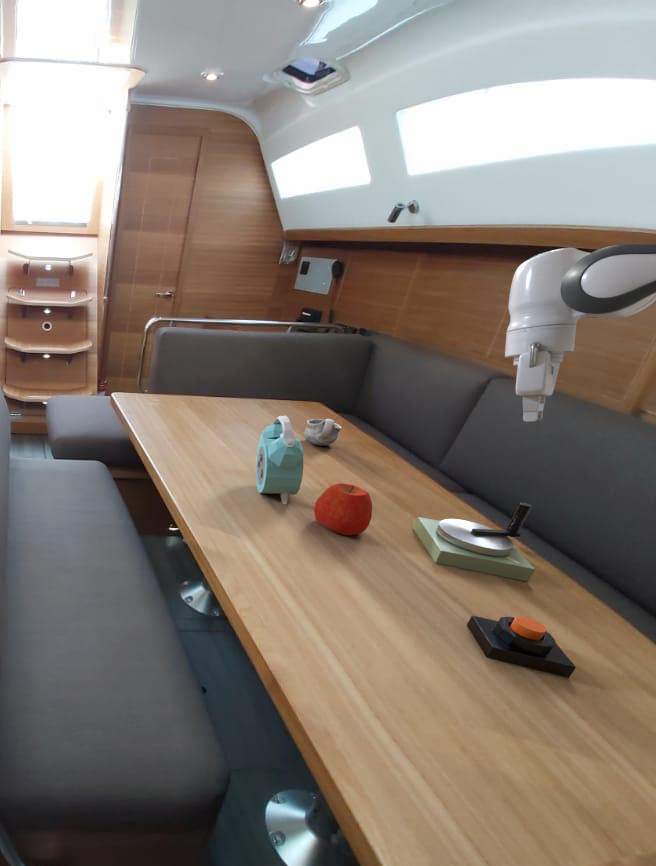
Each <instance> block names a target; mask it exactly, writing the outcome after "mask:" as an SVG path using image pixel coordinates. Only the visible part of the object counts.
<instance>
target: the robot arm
mask: <svg viewBox="0 0 656 866" xmlns="http://www.w3.org/2000/svg"><path fill="white" fill-rule="evenodd" d="M508 298H509V299H508V307H507V308H508V313H509V316H510V318H509V319H510V321H509V323H508V326H507V329H506V336H505V348H504V358H507V359H513V364H512V366H514V367H517V370H516V380H515V394H516V396H519V397H522V411H523V412H522V413H523V414H522V420H523V422H537V421H541V420H542V419H543V415H544V414H543V413H544V408H545V405H546V404H545V403H546V398H547V397H551V396H552V395H553V393H554V391H555V388H556V383H557V379H558V375H559V370H560V367H561V363H563V361H564V357H566V356H567V354H570V353H573V352H575V344H576V336H577V335H576V334H577V323H578V320H580V319H585V318H586V319H605V320H612V319H615V320H616V319H621V318H626V317H630V316H633V315H636V314H638V313H640V312H642V311H644V310H647V309H648V308H650V307H651V306H652V305H653V304H655V303H656V243H655V244H644V243H643V244H642V243H639V244H638V243H623V244H622V243H621V244H614V245H609V246H605V247H603V248H599V249H596V250H594V251H591V252H587V251H583V250H579V249H578V248H575V247H562V248H558V249H552V250H549V251H545V252H542V253H539V254H537V255H534V256H532V257H530V258H529V259H527V260H525V261H523V262H522V263H521V264H520V265H519V266H518V267H517V268H516V270H515V272H514V274H513V276H512V281H511V284H510V292H509V297H508Z"/></svg>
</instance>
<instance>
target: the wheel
mask: <svg viewBox="0 0 656 866" xmlns="http://www.w3.org/2000/svg"><path fill="white" fill-rule="evenodd" d="M532 509H533V505H532V504H530V503H527V502H520V503H519V505H518V507H517V508H516V510H515V512H514V513H513V515H512V518H511V519H510V521H509V523H508V525H507V527H506V529H494V528H491V527H490V526H486V525H484V524H480V523H478V522H473V521H470V520H465V519H459V518H445V519H442V520H439V521H440V522H439V524H438V526H437V529H436V530H437V532H438V534H439V535H440V536H441V537H443V538H444V539H445V540H447V541H449V542H451V543H452V544H455V545H457V546H459V547H461V548H464V549H467V550H470V551H473V552H477V553H481V554H485V555H492V556H505V555H508V554H509V553H510V552H511V550H512V549H513V547H515V543H514V542H513V540H512V539H511V538H515V537H516V538H520V537H521V535H522V534H521V532H519V531H520V530H521V528H522V526H523V524H524V522H525V521H526V519H527V518H528V515H529V513H530V512H531V510H532Z"/></svg>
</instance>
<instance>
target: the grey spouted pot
mask: <svg viewBox="0 0 656 866" xmlns="http://www.w3.org/2000/svg"><path fill="white" fill-rule="evenodd" d="M341 430H342V426H341V425H339V424H338V423H336V422H335V420H334V419H331V418H326V419H323V418H322V419H321V418H312V419H308V420H307V421H306V428H305V430H304V433H303V438H304V439H305V440H306V442H308V443H310V444H312V445H315V446H321V447H327V446H330V445H332V444H334V443H335V442H336V441H337V439H338V437H339V432H340V431H341Z"/></svg>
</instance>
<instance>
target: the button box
mask: <svg viewBox="0 0 656 866" xmlns="http://www.w3.org/2000/svg"><path fill="white" fill-rule="evenodd" d="M514 619H515V617H513V616H501V617H499V619H498V620H494V619H490V618H485V617H483V616H482V617H481V616H477V615H471V616H470V618H469V620H468V622H467V623H466V627H467V628H468V630H469V631H470V633H471V635H472V636H473V639H474V640H475V642H476V643H477V645H478V646H479V648H480V649H481V651H482V653H483V654H484V656H485V657H486V658H487V659H491V660H495V661H499V662H502V663H507V664H510V665H514V666H519V667H523V668H527V669H531V670H535V671H538V672H543V673H547V674H551V675H554V676H560V677H562V678H566V679H568V678H569V679H570V677H571V676H572V674H573V673H574V671H575V670H576V668H577V667H576V665H575V664H574V663H573V661H571V659H570V658H569V657H568V655H566V653H565V652H564V651H563V650H562V648H561V647H560V646H559V645H558V643H557V641H556V639H555V638H554V637H553V635H552V634H551V633H550V632H548V631H547V630H546V632H545V634H544V635H543V637H542V638H541V640H539V641H537V640H532V639H528V638H526V637H524V636H521V635H519V634H517V633H516V632H515V631H513V630H512V629H511V628H510V626H511V624H512V622H513V621H514Z"/></svg>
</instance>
